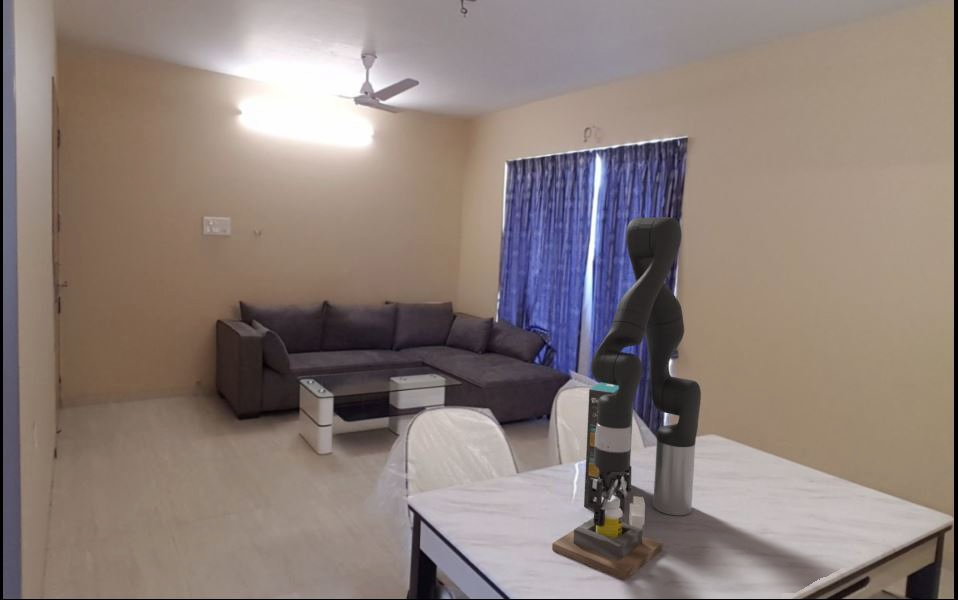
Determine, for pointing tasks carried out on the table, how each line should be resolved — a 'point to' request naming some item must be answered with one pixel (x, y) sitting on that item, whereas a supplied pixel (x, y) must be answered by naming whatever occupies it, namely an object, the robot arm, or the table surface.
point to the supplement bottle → (612, 519)
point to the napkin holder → (637, 512)
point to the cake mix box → (592, 423)
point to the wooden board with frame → (609, 549)
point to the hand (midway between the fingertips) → (609, 519)
